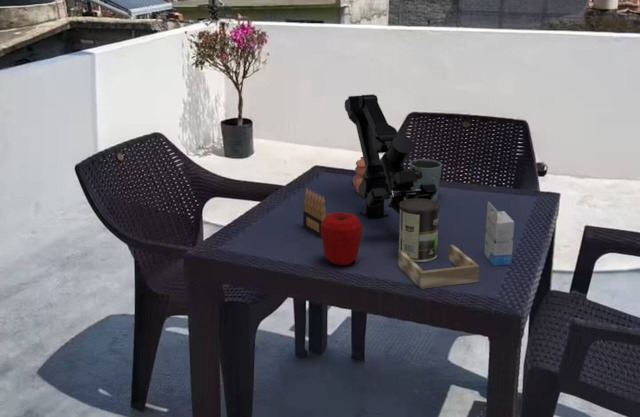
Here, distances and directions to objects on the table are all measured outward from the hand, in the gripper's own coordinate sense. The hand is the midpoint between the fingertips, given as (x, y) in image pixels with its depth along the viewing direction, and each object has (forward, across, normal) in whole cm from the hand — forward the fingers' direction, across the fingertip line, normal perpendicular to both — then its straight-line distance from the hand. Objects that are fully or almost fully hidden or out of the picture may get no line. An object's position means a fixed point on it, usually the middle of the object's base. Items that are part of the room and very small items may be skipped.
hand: (409, 222), depth 210 cm
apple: (+9, -21, +1) cm, 22 cm away
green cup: (-21, +20, +30) cm, 42 cm away
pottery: (-32, +7, +41) cm, 52 cm away
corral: (+18, 0, -8) cm, 20 cm away
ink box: (+16, +18, -6) cm, 25 cm away
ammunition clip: (-8, -21, +18) cm, 29 cm away
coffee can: (+9, 0, +1) cm, 9 cm away
